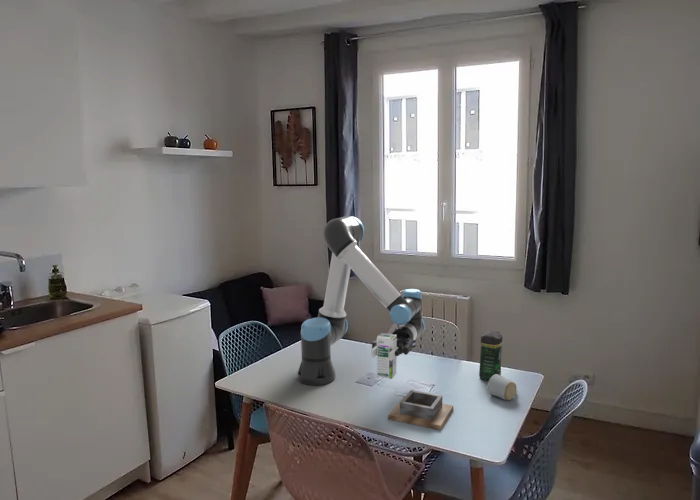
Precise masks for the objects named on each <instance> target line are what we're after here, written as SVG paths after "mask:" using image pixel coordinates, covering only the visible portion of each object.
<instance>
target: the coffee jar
mask: <svg viewBox="0 0 700 500" xmlns="http://www.w3.org/2000/svg"><path fill="white" fill-rule="evenodd" d="M502 351H503V334H502V333H501V332H500V331H497V330H488V331H485V332H484V333H482V335H481V336H480V353H479V354H480V356H479V357H480V358H479V372H478V377H479V378H480V379H482V380H484V381H488V382H489V380H490V378H491V377H492V376H493V375H495V374H498V375H500V376H502Z"/></svg>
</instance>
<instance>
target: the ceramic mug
mask: <svg viewBox="0 0 700 500" xmlns="http://www.w3.org/2000/svg"><path fill="white" fill-rule="evenodd" d="M487 392H488V393H489V394H490V395H493V396H495V397H498V398H500V399H502V400H504V401H510V400H512V399H513V398H514V397H515V396H516V395H517V393H518V390H517V384H516V383H515V382H514V381H512V380H511V379H509V378H507V377H505V376H502V375H501V376H500V375H498V374H495V375H493V376H492V377H491V378H490V380H489V381H488V383H487Z"/></svg>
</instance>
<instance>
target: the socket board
mask: <svg viewBox="0 0 700 500" xmlns="http://www.w3.org/2000/svg"><path fill="white" fill-rule="evenodd" d="M453 411H454V405H452V404H446V403H443V395H441V394H437V393H431V392H425V391H420V390H413V389H410V390H409V392H408V393H406V395H404V396H403V397H402V398H401V400H399V402H398V403H397V404H396V405H395V406H394V407H393V409H392V410H391V411H390V412H389V413H388V416H387V419H388V420H390V419H391V421H396V422H401V423H405V424H411V425H415V426H419V427H420V426H421V427H425V428H428V429H429V428H430V429H434V430H439V431H440V430H442V428H443V427H444V426H445V424H446V422H447V421H448V419H449V418H450V415H452V413H453Z"/></svg>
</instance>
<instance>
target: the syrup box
mask: <svg viewBox="0 0 700 500" xmlns="http://www.w3.org/2000/svg"><path fill="white" fill-rule="evenodd" d="M376 340H377V355H376V378H383V379H390V380H392V379H393V378H394V377H395V376H396V374H397V359H398V358H397V357H398V356H396V357H395V358H394V359H393V360H392V361H390V360H389V353H390V352H391V351H392V350H393V349H394V348H395V347H397V334H396V335H394V334H392V333H385V332H381V333H380V334H378V335H377V337H376Z"/></svg>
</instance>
